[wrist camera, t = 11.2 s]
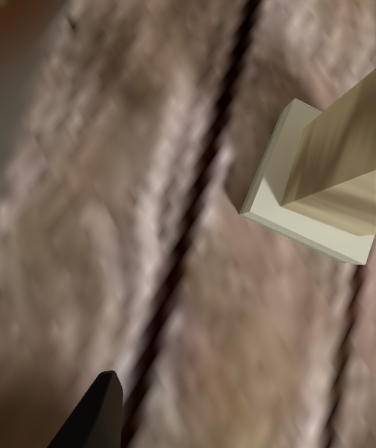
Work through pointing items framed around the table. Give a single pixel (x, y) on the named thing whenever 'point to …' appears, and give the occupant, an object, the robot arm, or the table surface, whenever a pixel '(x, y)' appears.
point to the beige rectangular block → (338, 164)
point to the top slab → (275, 188)
